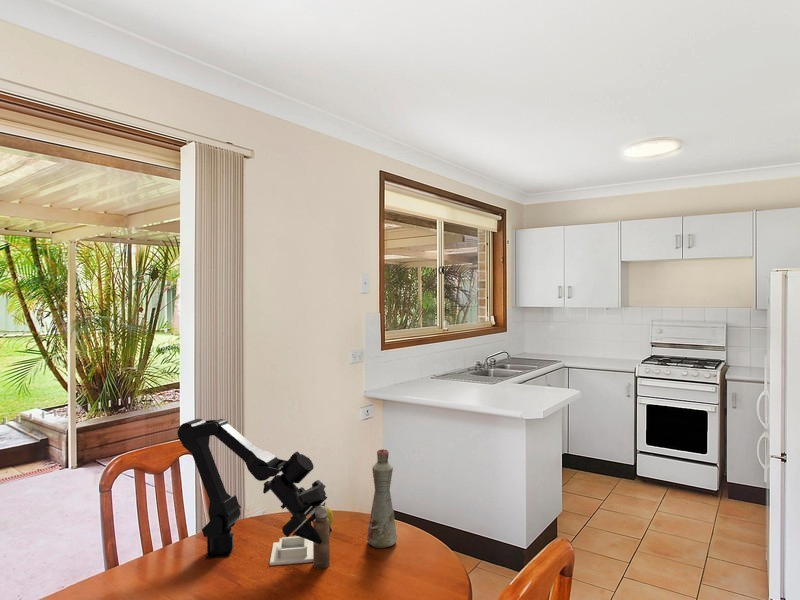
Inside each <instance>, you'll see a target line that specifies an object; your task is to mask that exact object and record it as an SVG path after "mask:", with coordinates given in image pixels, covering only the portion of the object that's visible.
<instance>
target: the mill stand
mask: <svg viewBox="0 0 800 600" xmlns="http://www.w3.org/2000/svg"><path fill="white" fill-rule="evenodd" d="M272 543H273V544H272V549H271V554H270V559H269V566H277V565H278V566H280V565H292V564H304V563H305V564H306V563H313V542H312V541H310V540H307V539H305V538H302V537H299V536H296V535H294V536H288V537H286V536H284V537H279V541H278V542H272Z"/></svg>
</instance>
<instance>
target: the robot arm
mask: <svg viewBox="0 0 800 600" xmlns="http://www.w3.org/2000/svg"><path fill="white" fill-rule="evenodd" d="M176 435H177V437H178V440H179V442H180V443H181V445H182V447H183V448H184V449H185V450H187V451H188V452H189V453H190V454H191V455H192V458H193V460H194V463H195V466H196V469H197V471H198V474H199V478H200V479H201V482H202V485H203V487H204V490H205V493H206V495H207V497H208V498H207V499H208V500H209V502H208V504H209V505H208V512H207V513H208V519H209V521H208V522H207V524H205V525H204V526H203V528H201V531H202V534H203V537H205V538H206V555H205V558H206V559H214V558H228V557H230V555H231V554H232V552H233V550H234V543H235V542H234V541H235V540H234V538H235V537H234V536H235V535H234V533H232V532H233V531H232V527H235V524H236V522H238V520H239V519H240V516H241V508H242V506H241V505H240V503H239V500H238V497H237V495H235V494H234V495H233V496H231V495H230V494H229V493H227V490H226V488H225V485H224V482H223V480H222V477H221V474H220V472H219V469H218V467H217V464H216V462H215V459H214V456H213V453H212V451H211V449H210V439H211V438H210V437H212V436H214V437H215V438H216V439H218V440H219V441H220V442H221V443H223V444H224V445H225V446H226V447H227V448H228V449H229V450H230V451H232V452H233V453H234V454H235V455H236V456H238V457H239V458H240V460H242V461H243V462H244V463H245V465H246V468H247V470H248V472H249V473H250V474H251V475H252V477H254V479H255V480H257V481H259V482H264V481H265V482H264V483H263V491H262V493H263V494H264V495H265V494H267V492H270V491H271V492H272V493H273V494H274V495H275V497H276V498H277V499H278V500H279V502H280V503H281V506H280V508H281V509H282V510H284V509H287V511H288V512H289V513H290V514H291V516H290V519H289V520H288V521H287V522H286V523H285V524H284V525H283V526H282V527H281V531H282V532H281V533H282V534H283V535H284V537H290V535H291V534H292V537H295V536H299V537H302V538H305V539H307V540H310V541H312V542H315V543H317V544H321V543H322V539H321V538H320V536H319V535H318V533H317V532H316V531H315V529H314V528H313V524H312V523H313V520H315V519H316V516H315V510H316V508H317V507H319V506H324V507H325V506H326V502H325V501H326V500H327V499H328V496H326V495H327V493H326V491H325V488H326V484H324V482H322V481H320V480H319V479H318V480H315V481H314V482H312V484H311V487H310V488H308V489H305V488H304V487H298V486H297V485H296V484H300V483H301V482H302V481H303V480H304V479H305V478H306V477H307V476H308V475H309V474H310V473H311V472H312V471H313V470H314V466H315V465H314V463H313V462H312V459H310V457H309V456H306V455H304V454H302V453H300V452H299V451H295V452H294V453H292V455H291V456H290V457H289V459H288V460H286V459H280V458H278V457H277V456H276V455H274V454H273V453H271V452H269V451H267V450H264V449H261V448H259V447H257V446H255V445H254V444H253V443H251V442H250V441H249V440H248V439H247V438H246V437H245V436H243V434H241V433H240V432H238V431H237V429H236V428H234V427H233V426H232V425H231V424H229V423H228V420H226V419H224V418H219V419H209V420H203V419H202V418H195V419H192V420H190V421H186V422H185V423H182V424H181V425H179V427H178V430H177V434H176ZM280 473H281V474H280ZM271 477H273V478H271ZM270 478H271V480H268V479H270ZM266 480H267V481H266ZM308 515H309V517H308ZM307 517H308V518H307ZM332 531H333V530H332V526H331V527H330V524H329V534H330V533H331V532H332Z"/></svg>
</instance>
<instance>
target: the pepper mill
mask: <svg viewBox="0 0 800 600" xmlns="http://www.w3.org/2000/svg"><path fill="white" fill-rule="evenodd" d="M326 507H327V506H326ZM326 507H324V506H319V507H317V508H316V510H315V516H316V519H315V520H313V522H312V526H313V528H314V529H315V531H316V532H317V533H318V535H319V536H320V538H321V539H322V543H321V544H317V543H315V542H313V562H312V563H313V568H314V569H318V570H321V569H326V568H329V566H330V564H331V563H330V562H331V560H330V555H331V554H330V553H331V552H330V547H331V546H330V533H329V519H328V518H327V509H326Z"/></svg>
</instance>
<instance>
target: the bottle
mask: <svg viewBox="0 0 800 600" xmlns="http://www.w3.org/2000/svg"><path fill="white" fill-rule="evenodd" d="M376 454H377V455H376V457H377V458H376V460H377V461H376V462H375V463H374V464H373V465H372V469H371V470H372V476H373V484H374V485H373V486H374V494H373V498H372V499H373V500H372V507H371V511H370V518H369V521H368V526H367V539H366V540H367V542H368V544H369V545H370V546H371V547H373V548H377V549H384V548H389V547H391V546H393V545H395V544H396V543H397V541H398V535H397V534H398V533H397V527H396V526H397V525H396V521H395V514H394V508H393V502H392V501H393V500H392V495H391V484H392V483H391V482H392V476H393V472H394V471H393V470H394V467H393V466H392V464H391V463H390V462H389V450H387V449H379V450H377V452H376Z"/></svg>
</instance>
